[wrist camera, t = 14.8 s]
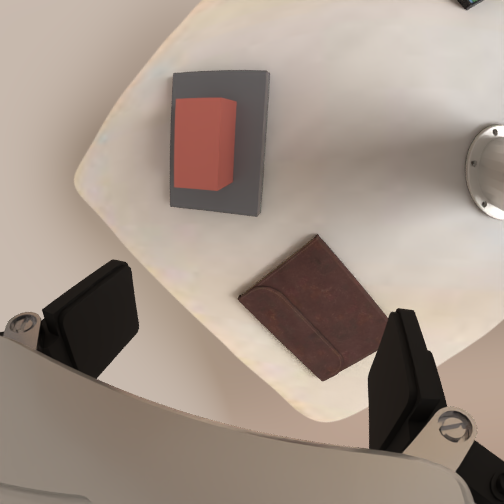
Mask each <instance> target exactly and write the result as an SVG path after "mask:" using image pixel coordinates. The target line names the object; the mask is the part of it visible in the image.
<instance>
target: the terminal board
mask: <svg viewBox="0 0 504 504" xmlns="http://www.w3.org/2000/svg"><path fill="white" fill-rule="evenodd" d="M269 80H270V73H269V72H268V71H259V70H223V71H198V72H183V73H173V89H172V110H171V140H170V207H179V208H188V209H197V210H206V211H214V212H223V213H231V214H239V215H247V216H255V217H257V216H258V215H259V214H260V213H261V200H262V186H263V171H264V156H265V142H266V126H267V111H268V96H269ZM183 98H225V99H229V100H233V101H237V106H236V125H235V145H234V167H233V182H232V183H231V184H229V185H227V186H225V187H223V188H222V189H220V190H218V191H214V190H202V189H190V188H177V187H174V141H175V108H176V99H183Z"/></svg>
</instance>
